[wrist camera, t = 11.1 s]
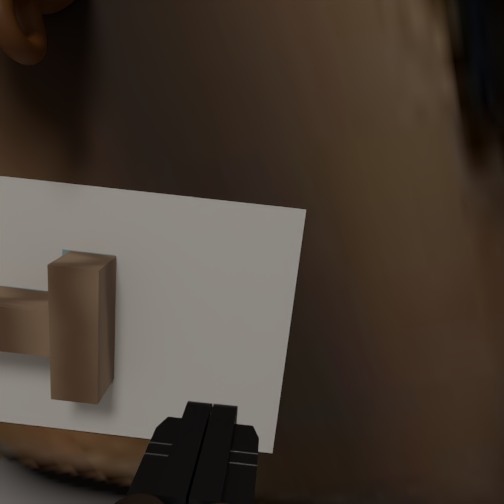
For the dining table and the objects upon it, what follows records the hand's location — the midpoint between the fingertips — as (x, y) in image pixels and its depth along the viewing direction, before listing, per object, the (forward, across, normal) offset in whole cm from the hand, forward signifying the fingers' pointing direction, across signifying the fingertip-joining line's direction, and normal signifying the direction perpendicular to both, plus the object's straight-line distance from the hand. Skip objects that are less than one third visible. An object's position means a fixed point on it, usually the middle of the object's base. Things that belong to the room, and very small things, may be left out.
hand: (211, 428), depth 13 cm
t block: (+24, +18, +8) cm, 31 cm away
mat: (+24, +13, +9) cm, 29 cm away
